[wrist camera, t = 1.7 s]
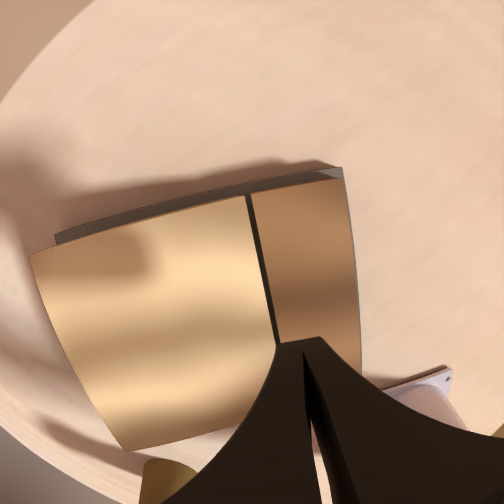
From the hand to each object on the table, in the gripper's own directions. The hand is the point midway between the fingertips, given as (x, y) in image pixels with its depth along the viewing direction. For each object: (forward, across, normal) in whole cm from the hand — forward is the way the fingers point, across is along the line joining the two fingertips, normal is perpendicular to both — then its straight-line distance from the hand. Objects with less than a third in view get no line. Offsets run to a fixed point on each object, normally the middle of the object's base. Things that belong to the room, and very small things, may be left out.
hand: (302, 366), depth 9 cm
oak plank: (+6, +7, +2) cm, 10 cm away
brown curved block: (+10, -2, +2) cm, 10 cm away
